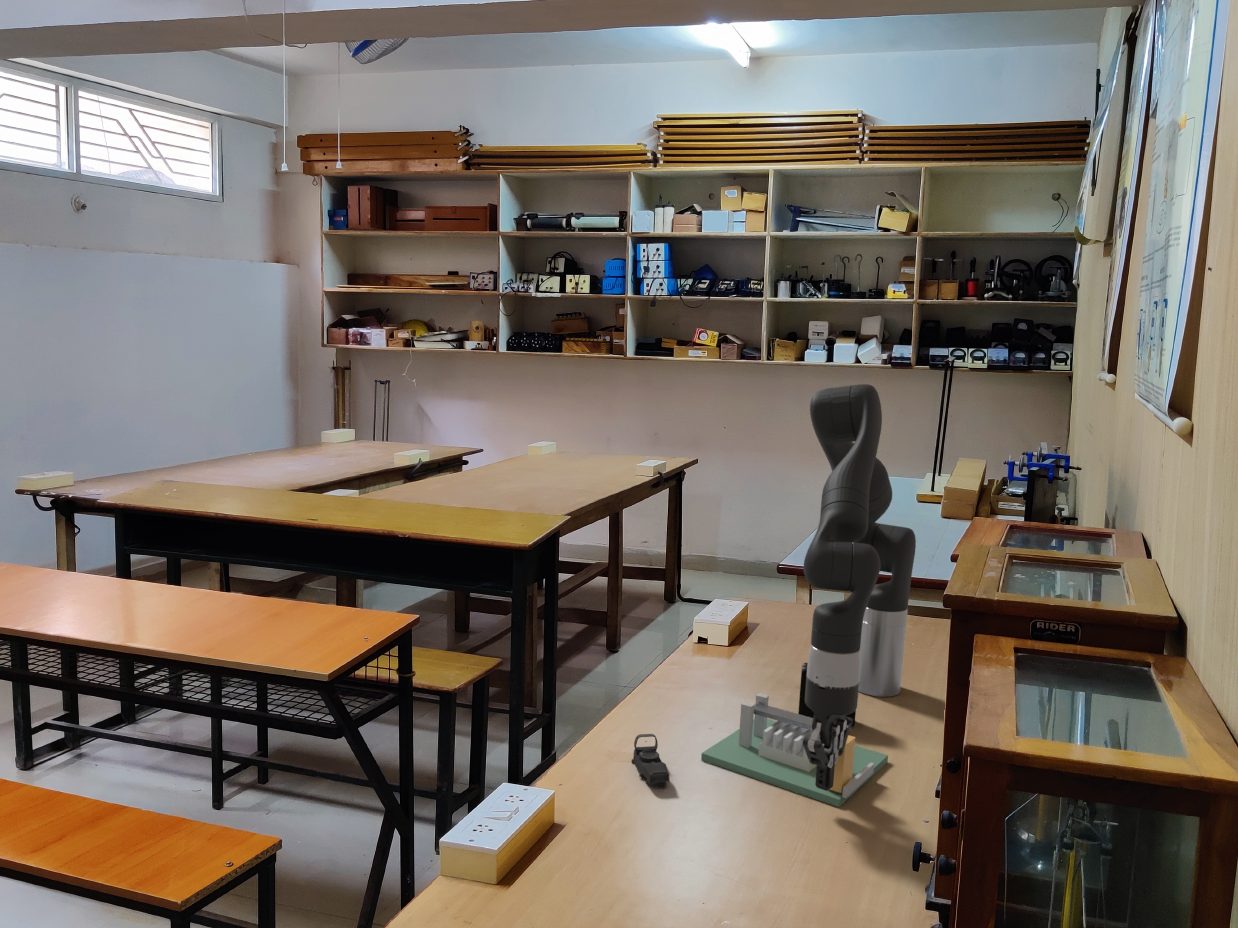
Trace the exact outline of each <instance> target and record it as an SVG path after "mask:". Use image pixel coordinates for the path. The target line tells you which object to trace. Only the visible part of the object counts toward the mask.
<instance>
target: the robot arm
mask: <svg viewBox="0 0 1238 928" xmlns="http://www.w3.org/2000/svg"><path fill="white" fill-rule="evenodd" d="M882 410H883V409H882V403H881V399H880V396H879V393H878V390H877V389H876V387H874V385H872V384H865V383H864V384H863V383H862V384H861V383H860V384H859V383H858V384H853V385H851V384H850V385H845V386H836V387H828V388H823V389H820V390H818V391H816V392H815V393H813V395H812V397H811V399H810V403H809V415H810V420H811V424H812V428H813V430H814V433H815V435H816V438H817V441H818V442H819V445H820V446H821V448H822V451H823V452H824V454H825V457H826V459H827V461H828V463H829V466H830V469H831V471H832V472H830V474H829V475H828V477H827V478H826V480H825V481H826V482H825V483H824V485H823V488H822V494H821V504H820V514H819V522H818V527H817V529H816V532H815V534H814V536H813V539H812V541H811V543H810V544H809V546H808V549H807V551H806V553H805V557H804V562H803V574H804V576H805V579H806V580H807V582H808V584H810V586H812V587H813V588H815V589H821V590H832V591H840V592H841V591H842V592H849V593H850V594H849V596H848V597H847V598H846V599H844V600H840V601H833V602H827V603H820V605H819V604H818V605H817V606H816V607H815V608H814V609H813V614H812V623H811V636H810V637H811V638H810V648H809V652H808V656H807V657H808V658H807V663H808V664H807V677H806V690H805V703H806V705H807V706H808V707H809V708H810V709H811V710H812V711H813V712H814V717H813V720H812V723H811V730H812V731H813V733H812V735H811V737H810V738H806V737H805V738H804V740H803V746H804V749H805V751H806V754H807V756H808V759H809V762H810V763H811V764H815V765H817V770H816V783H815V785H816V787H817V788H819V789H822V790H825V791H828V790H829V789H830V788H832V787H833V782H834V769H835V765H834V764H836V763H837V761H838V755H839V756H841V755H842V754H843V750H844V747H845V744H846V741H847V738H848V735H849V734H850V731H851V729H852V728H851V726H852V723H853V719H852V718H850V717H846V715H848V714H851V713H853V712H854V711H855V710H856V711H857V708H858V698H859V692H860V693H862V694H865V695H869V696H874V697H881V698H884V697H885V698H886V697H887V698H888V697H894V696H897V695H899V694H900V693H901V686H902V685H901V684H902V674H903V664H904V656H905V643H906V642H905V641H906V631H907V621H908V609H909V598H910V593H911V592H910V591H911V584H912V582H911V581H912V575H913V567H914V562H915V557H916V555H915V554H916V548H917V545H916V543H917V540H916V534H915V532H914V530H913V529H912V528H909V527H904V526H898V525H897V526H896V525H892V524H886V523H878V522H877V521H878V520H879V519H880V518H881V517H882V516H883V515H884V514H885V513H887V511H888V509H889V507H890V505H891V503H892V500H893V488H892V485H891V481H890V477H889V474H888V470H887V468H886V466H885V465H884V464H883V462H882V461H881V460H880V459H878V458H877V454H878V447H879V444H880V438H881V437H880V436H881V433H882V427H883V426H882V424H883V421H882V420H883V413H882ZM881 572H883V573H890V574H891V578H890V580H889V581H885V582H882V583H877V581H878V578H879V575H880V573H881ZM876 583H877V584H876Z"/></svg>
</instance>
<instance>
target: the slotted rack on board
mask: <svg viewBox="0 0 1238 928" xmlns="http://www.w3.org/2000/svg"><path fill="white" fill-rule="evenodd" d="M769 696H770V695H767V694H763V693H761V692H759V693H757V694H756V695H755V702H754V704H756V703H757V702H761V703H762V704H764V705H768V706H769V698H770V697H769ZM754 704H753V703H749V702H746V701H744V702H742V703H741V704H740V716H739V717H740V718H739V728H738V729H737V730H736V731H734V732H732V733H730V734H728V735H727V736H726V737H724V738H723V739H721V740H720V741H718V742H717V743H715V744H713V745H712V746H710V747H709V748H707V749H706V750H704V751H702V752H701V758H700V760H701V761H703V762H706V763H709V764H712V765H715V766H718V767H721V768H723V769H727V770H729V771H732V772H734V773H738V774H741V775H744V776H747V777H750V778H752V779H756V780H758V781H762V782H764V783H767V784H770V785H773V786H776V787H778V788H782V789H785V790H788V791H790V792H792V793H796V794H799V795H803V796H805V797H808V798H811V799H814V800H817V801H819V802H823V803H825V804H829V805H831V806H833V807H834V806H835V807H837V808H840V807H841V806H842V805H843V804H845V802H847V800H849V799H850V797H852V796H853V795H855V793H856V792H857V791H858V790H859V789H860V788H862V786H863V785H865V784H866V783H867V782H868V781H869V780H870V779H871V778H873V776H874V775H875V774H876V773H877V772H879V771H880V770H881V769H882V768H883V767H884V766H885V765H886V764H887V763H888V761H889V760H888V759H889V755H888V754H886V753H882V752H878V751H876V750H872V749H870V748H866V747H863V746H858V745H856V744H855V749H854V761H853V773H852V780H851V781H849V782H848V783H847V784H846V785H845V786H844V787H843V792H842V793H839V792H836V791H833V790H830V789H829V790H828V791H825V790H822V789H819V788H817V787H816V785H815V783H816V770H817V765H815V764H811V763H810V762H809V759H808V756H807V754H806V751H805V749H804V746H803V740H804V738H805V737H806V738H810V737H811V735H812V733H813V731H812V730H808V729H805V728H801V727H798V726H794V725H791V724H787V723H784V722H781V721H777V720H774V719H770V718H767V717H763V716H760V715H756V714H754Z"/></svg>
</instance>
